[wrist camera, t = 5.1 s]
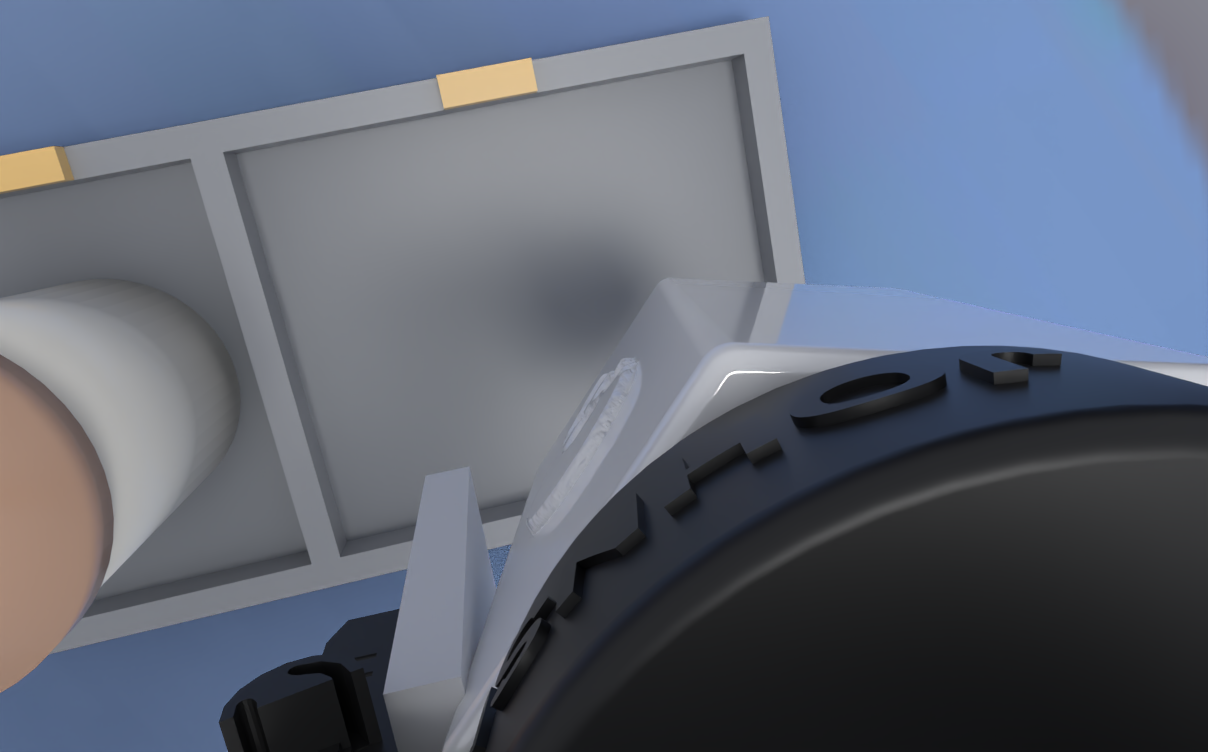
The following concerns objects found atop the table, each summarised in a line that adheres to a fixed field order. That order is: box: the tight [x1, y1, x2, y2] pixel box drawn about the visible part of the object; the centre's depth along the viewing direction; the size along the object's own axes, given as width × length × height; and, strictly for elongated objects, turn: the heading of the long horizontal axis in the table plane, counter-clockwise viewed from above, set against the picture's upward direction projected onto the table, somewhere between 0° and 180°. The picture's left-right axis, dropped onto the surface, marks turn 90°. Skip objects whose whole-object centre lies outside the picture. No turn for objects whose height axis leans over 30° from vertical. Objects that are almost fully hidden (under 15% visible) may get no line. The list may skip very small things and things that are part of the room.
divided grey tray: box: [0, 16, 805, 654], centre depth 29 cm, size 30×16×3 cm, turn 101°
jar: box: [441, 278, 1208, 752], centre depth 11 cm, size 9×8×12 cm
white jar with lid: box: [0, 279, 240, 693], centre depth 23 cm, size 8×8×12 cm
